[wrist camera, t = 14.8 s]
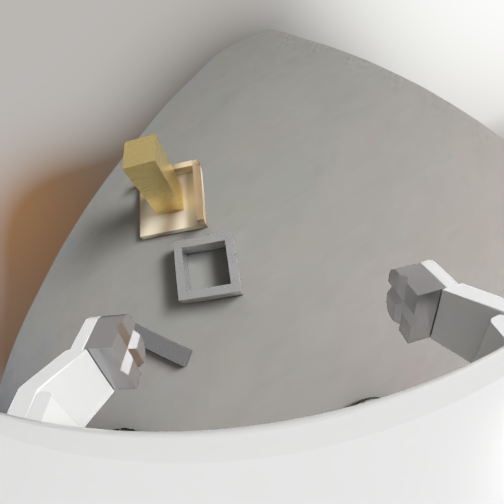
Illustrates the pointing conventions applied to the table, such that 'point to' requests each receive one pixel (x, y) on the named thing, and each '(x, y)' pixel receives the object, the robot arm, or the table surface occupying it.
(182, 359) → the gray rectangular bar
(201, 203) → the rack plate
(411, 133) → the table surface
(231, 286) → the socket collar
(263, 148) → the table surface
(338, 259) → the table surface
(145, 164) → the yellow wooden block
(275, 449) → the robot arm
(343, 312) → the table surface
